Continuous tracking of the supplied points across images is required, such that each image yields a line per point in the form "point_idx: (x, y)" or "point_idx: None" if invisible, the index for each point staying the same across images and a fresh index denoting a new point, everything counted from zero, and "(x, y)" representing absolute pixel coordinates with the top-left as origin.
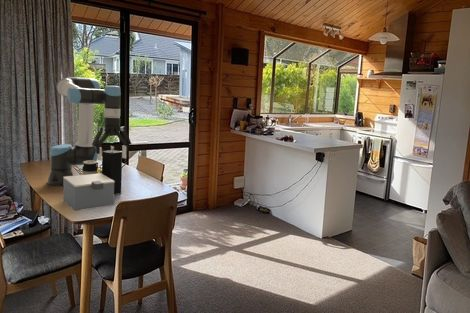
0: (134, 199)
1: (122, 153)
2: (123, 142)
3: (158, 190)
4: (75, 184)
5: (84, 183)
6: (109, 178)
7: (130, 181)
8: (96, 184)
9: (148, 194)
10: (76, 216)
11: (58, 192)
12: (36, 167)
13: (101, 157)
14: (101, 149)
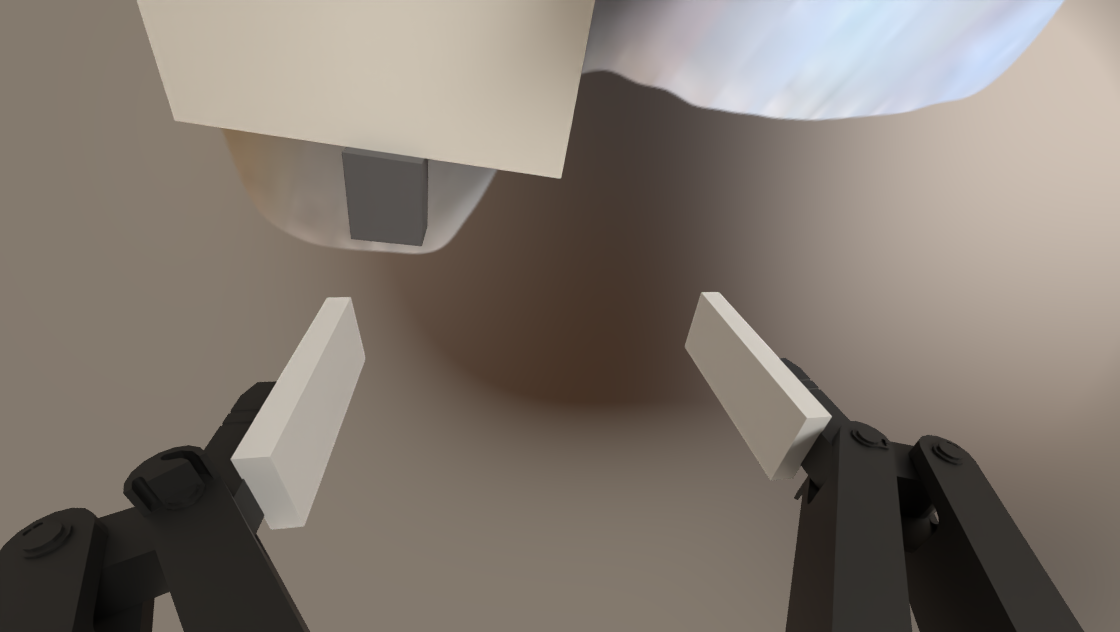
0: (698, 103)
1: (727, 329)
2: (810, 518)
3: (958, 22)
4: (180, 83)
5: (281, 101)
6: (578, 59)
7: None
8: (362, 238)
9: (837, 64)
10: (273, 178)
11: None
12: None
13: (353, 386)
14: (314, 489)
